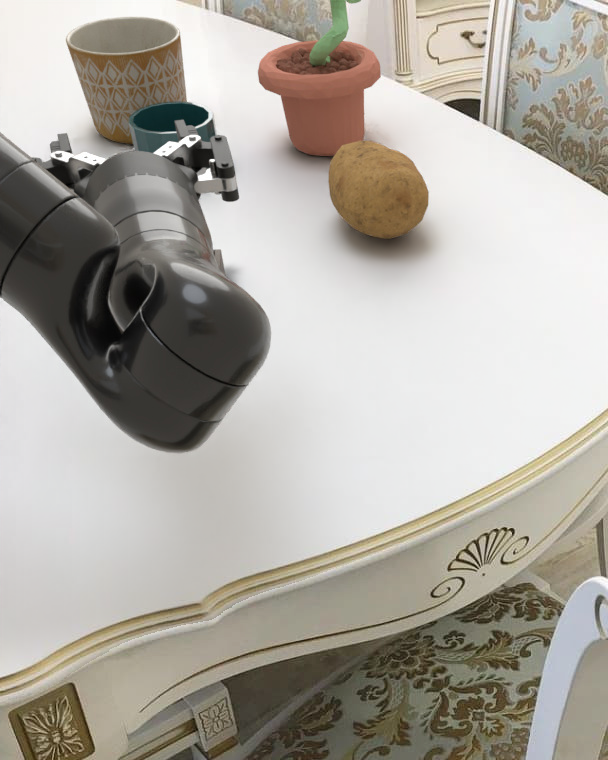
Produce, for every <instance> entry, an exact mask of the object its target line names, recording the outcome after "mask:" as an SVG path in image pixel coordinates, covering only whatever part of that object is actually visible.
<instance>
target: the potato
mask: <svg viewBox="0 0 608 760" xmlns="http://www.w3.org/2000/svg"><path fill="white" fill-rule="evenodd" d="M328 190H329V197H330V200H331V203H332V205H333V207H334V208H335V210H336V212H337V213H338V214H339V216H340V217H341V218H342V220H344V221H345V222H346V223H347V224H348V225H349V226H350V227H352V228H353V229H354V230H355V231H357V232H359V233H361V234H364V235H368V236H371V237H373V238H379V239H384V240H385V239H386V240H391V239H395V238H398V237H401V236H403V235H404V236H405V235H406V234H408V233H410V232H411V231H412V230H414V229H415V228H416V227H417V226H418V225H419V224H420V223H421V222H422V221H423V220H424V217H425V214H426V212H427V209H428V207H429V199H430V197H429V193H430V191H429V190H428V186H427V184H426V182H425V180H424V177H423V175H422V174H421V172H420V171H419V169H418V167H417V166H416V165H415V163H414V161H413V160H412V159H410V158H409V156H407V154H404V153H402V152H400V151H399V150H396V149H392V148H390V147H387V146H385V145H383V144H381V143H378V142H375V141H371V140H363V141H356V142H352V143H349V144H345V145H342V146H341V147H340V149H339V150H338V151H337V152H336V154H335V155H334V156H333V157H332V158H331V159H330V163H329V167H328Z"/></svg>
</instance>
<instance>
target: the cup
mask: <svg viewBox="0 0 608 760" xmlns="http://www.w3.org/2000/svg"><path fill="white" fill-rule="evenodd" d="M176 120H184V122H185V124H186V126H189V125H192V126H194V127H195V128H196V130H197V133H198V135H199V136H200V137H201V141H204V142H210V138H211V137H213V136H216V135H218V132H217V128H216V123H215V116H214V112H213V110H211V109H210V108H209V107H208V106H206V105H203V104H200V103H197V102H190V101H187V102H182V101H178V102H163V103H157V104H152V105H148V106H146V107H143V108H141V109H138V110H136V111H135V112H134V113H133V114H131V115H130V117H129V122H128V123H129V127H130V132H131V136H132V141H133V144H132V145H133V149H134V151H144V152H150V153H154V152H155V151H157V150H158V149H159V148H161V147H162V146H163V145H165V144H166V143H167V142H169V141H171V142H178V137H177V132H176V127H175V122H174V121H176ZM206 169H209V168H206Z"/></svg>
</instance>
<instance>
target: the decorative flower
mask: <svg viewBox="0 0 608 760" xmlns="http://www.w3.org/2000/svg"><path fill="white" fill-rule="evenodd" d="M361 1H362V0H329V3H330V4H329V5H330V11H331V21H332V22H331V23H332V26H331V27H330V29H329V30H327V32H326V33H324V35H323V36H321V38H319V39H316V40H305V41H297V42H292V43H289V44H283V45H280V46H279V47H277V48H274V49H272V50H271V51H268V52H267V53H266V54H265V55H264V56H263V57H262V58H261V59H260V61H259V63H258V69H257V76H258V83H259V84H260V85H261V86H262V88H264V90H265V91H267V92H270V93H273V94H276V95H278V96H280V100H281V103H282V108H283V112H284V117H285V121H286V122H285V123H286V127H287V130H288V136H289V139H290V142H291V143H292V145H293V147H294V148H295V149H296V150H298V151H300V152H302V153H304V154H306V155H308V156H309V155H311V156H322V157H332V156H333V157H334V155H335V154H336V152H337V151H338V150H339V149H340V147H341V146H342V145H345V144H349V143H352V142H356V141H364V137H365V134H366V133H365V132H366V131H365V130H366V129H365V90H366V89H369V88H371V87H373V85H375V84H376V83H377V82H378V80H380V78H382V77H381V64H380V61H379V59H378V57H377V56H376V53H375V52H374V51H373V50H371V49H369V48H368V47H366V46H364V45H363V44H360V43H356V42H353V41H348V40H345V39H346V38H347V35H348V32H349V29H350V27H349V18H348V9H347V3H348V4H351V5H352V4H353V5H354V4H358V3H360V2H361ZM346 2H347V3H346Z"/></svg>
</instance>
